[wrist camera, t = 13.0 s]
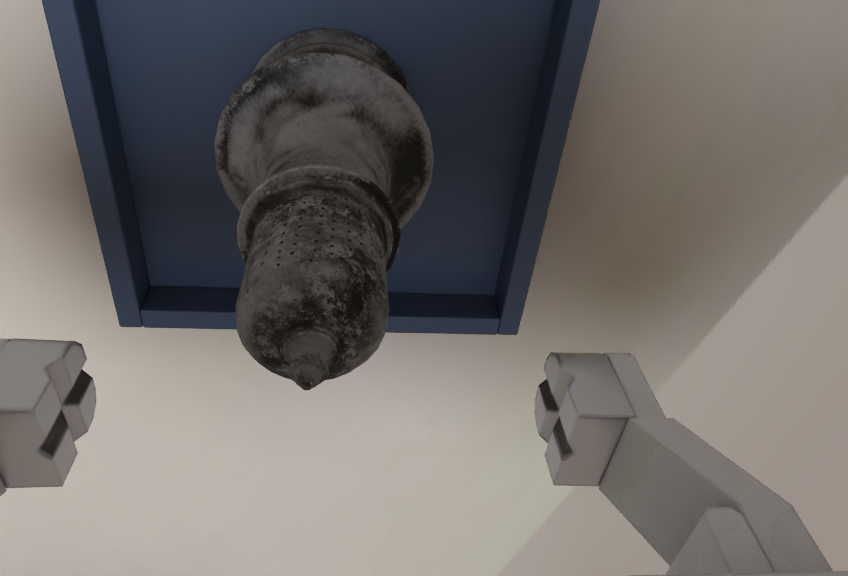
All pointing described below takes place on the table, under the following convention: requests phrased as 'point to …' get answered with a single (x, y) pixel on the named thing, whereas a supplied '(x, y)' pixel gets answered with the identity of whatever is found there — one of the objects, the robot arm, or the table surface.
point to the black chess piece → (320, 198)
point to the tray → (236, 60)
